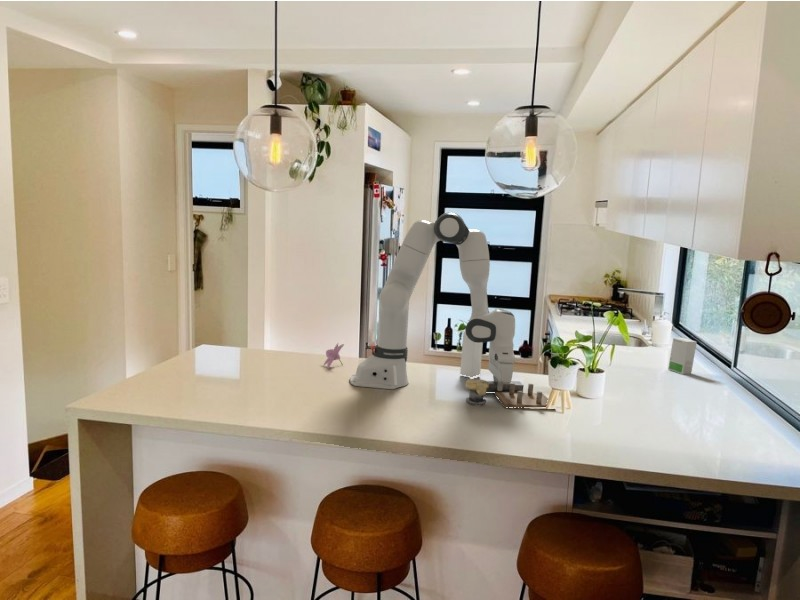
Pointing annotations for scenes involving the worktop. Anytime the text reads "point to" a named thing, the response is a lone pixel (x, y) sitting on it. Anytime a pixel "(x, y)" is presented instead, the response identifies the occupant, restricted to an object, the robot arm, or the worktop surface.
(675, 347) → the skincare box
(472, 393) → the post
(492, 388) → the grey rectangular bar
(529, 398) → the peg rack
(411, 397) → the worktop surface
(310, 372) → the worktop surface
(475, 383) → the gold crumpled flat piece
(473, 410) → the worktop surface
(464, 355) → the milk
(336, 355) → the lily
